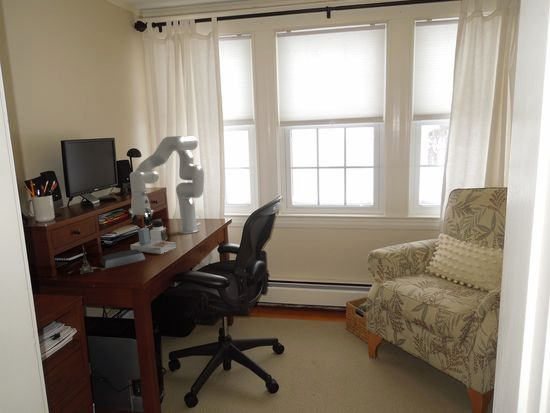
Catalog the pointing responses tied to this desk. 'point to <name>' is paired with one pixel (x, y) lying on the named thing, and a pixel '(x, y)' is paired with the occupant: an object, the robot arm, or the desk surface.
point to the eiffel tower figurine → (87, 266)
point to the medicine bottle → (158, 231)
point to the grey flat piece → (154, 246)
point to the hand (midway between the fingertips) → (142, 224)
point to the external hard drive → (122, 258)
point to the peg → (144, 236)
